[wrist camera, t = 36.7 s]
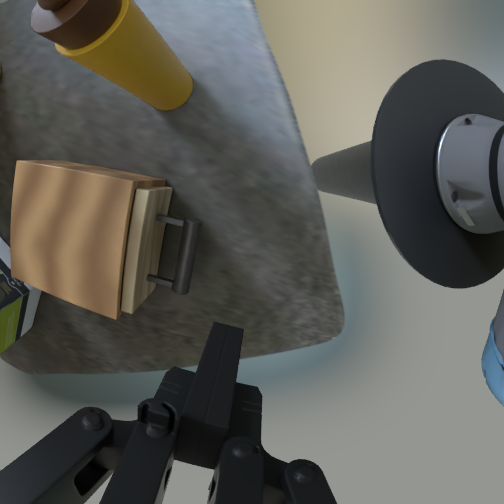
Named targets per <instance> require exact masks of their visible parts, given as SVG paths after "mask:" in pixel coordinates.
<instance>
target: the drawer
mask: <svg viewBox="0 0 504 504" xmlns="http://www.w3.org/2000/svg"><path fill="white" fill-rule="evenodd" d="M172 189H173V188H171V187H166V186H155V187H145V188H137V189H135V191H134V196H133V202H132V208H131V214H130V220H129V226H128V233H127V240H126V248H125V256H124V265H123V274H122V285H121V291H122V302H121V311H124V312H127V313H130V314H132V313H133V312H134V311H135V310H136V309H137V308H138V307H139V306H140V305H141V303H142V302H143V301H144V300H145V299H146V298H147V297H148V296H149V295H150V293H151V292H152V291H153V290H154V289H155V285H156V284H160V285H163V286H167V287H170V288H172V290H173V292H175V293H177V294H181V295H185V294H187V293H188V292H189V287H190V281H191V276H192V271H193V266H194V261H195V256H196V251H197V246H198V242H199V237H200V232H201V228H202V221H200V220H197V219H192V218H186V219H185V220H184V219H179V218H175V217H171V216H167V214H168V209H169V204H170V199H171V194H172ZM166 223H168V224H172V225H176V226H180V227H183V232H182V237H181V243H180V248H179V253H178V259H177V264H176V270H175V276H174V280H170V279H166V278H163V277H159V276H157V272H158V265H159V259H160V253H161V247H162V241H163V235H164V230H165V224H166Z"/></svg>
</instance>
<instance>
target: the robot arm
mask: <svg viewBox="0 0 504 504" xmlns="http://www.w3.org/2000/svg"><path fill="white" fill-rule="evenodd" d="M433 177H434V183H435V188H436V192H437V195H438V198H439V201H440V203H441V205H442V207H443V209H444V211H445V212H446V214H447V215H448V217H449V218H450V219H451V220H452V221H453V222H454V223H455V224H456V225H457V226H459V227H460V228H462V229H464V230H467V231H470V232H473V233H479V234H488V233H493V232H498V231H503V230H504V122H502V121H499V120H496V119H493V118H489V117H486V116H483V115H478V114H466V115H462V116H458V117H456V118H453V119H452V120H450V121H449V122H448V123H447V124H446V125H445V126H444V127H443V129H442V130H441V132H440V134H439V136H438V138H437V141H436V144H435V149H434V155H433ZM243 331H244V329H241V328H237V327H233V326H229V325H226V324H222V323H218V322H214V323H213V326H212V328H211V331H210V334H209V337H208V340H207V343H206V345H205V348H204V351H203V354H202V357H201V360H200V362H199V365H198V368H197V371H196V373H194V372H191V371H188V370H184V369H181V368H178V367H173V368H172V369H170V370H169V371H167V372H166V374H165V376H164V378H163V380H162V382H161V384H160V386H159V389H158V390H157V392H156V394H155V396H154V398H151V399H146V400H144V401H142V402H141V403H140V404H139V405H138V419H137V420H134V421H120V420H112V419H111V417H110V415H109V414H108V413H107V412H105V411H104V410H102V409H100V408H95V407H85V408H82V409H80V410H78V411H77V412H76V413H75V414H73V416H71V417H70V418H68V419H67V420H66V421H64V423H62V424H61V425H59V426H58V427H57V428H56V429H54V430H53V431H52V432H51V433H49V434H48V435H47V436H45V437H44V438H43V439H41V440H40V441H39V442H38V443H36V444H35V445H34V446H32V447H31V448H30V449H29V450H27V451H26V452H25V453H24V454H22V455H21V456H19V457H18V458H17V459H16V460H14V461H13V462H12V463H10V464H9V465H8V466H6V467H5V468H4V469H2V470H1V471H0V504H84V503H85V502H86V501H87V500H88V499H89V498H90V496H92V495H93V494H94V493H95V492H96V490H97V489H98V488H99V487H100V486H101V485H102V484H103V483H104V482H105V481H106V480H107V479H108V478H109V476H110V475H111V474H112V473H113V472H114V473H113V475H112V477H111V479H110V481H109V483H108V486H107V488H106V490H105V492H104V494H103V497H102V499H101V501H100V503H99V504H162V501H163V498H164V494H165V491H166V488H167V485H168V481H169V478H170V474H171V471H172V464H173V461H174V460H178V461H181V462H185V463H189V464H192V465H197V466H201V467H205V468H209V469H215V470H214V475H213V478H212V481H211V483H210V486H209V490H210V491H209V496H208V502H207V504H337V503H336V500H335V498H334V496H333V494H332V492H331V489H330V487H329V485H328V483H327V480H326V478H325V476H324V474H323V471H322V470H321V469H320V467H319V466H318V465H316V464H315V463H314V462H311V461H309V460H305V459H298V460H294V461H291V462H290V463H287V462H284V461H281V460H279V459H276V458H274V457H272V456H271V455H269V454H268V453H267V452H266V451H265V450H264V448H263V446H262V444H261V420H262V414H261V413H262V394H261V393H260V391H259V389H258V387H255V386H251V385H246V384H241V383H237V382H236V378H237V371H238V364H239V358H240V351H241V344H242V338H243ZM482 371H483V374H484V377H485V378H486V383H487V385H488V387H489V389H490V391H491V392H492V394H493V395H494V396H495V398H496V399H497V400H498V401H499V402H500V403H501V404H502V405H503V406H504V291H503V294H502V297H501V301H500V304H499V307H498V310H497V313H496V316H495V318H494V319H493V320H492V322H491V325H490V333H489V336H488V339H487V342H486V345H485V348H484V351H483V354H482Z"/></svg>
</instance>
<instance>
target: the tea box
mask: <svg viewBox="0 0 504 504" xmlns="http://www.w3.org/2000/svg"><path fill="white" fill-rule="evenodd" d="M41 292H42V290H40V289H38V288H35V287H33V286H31V285H29V284H27V283H25V282H23V281H20V280H18V279H16V278H14V277H12V276H11V254H10V247H9V246H8V245H7V244H6V243H5V242H4V241H3V240H2V238H1V237H0V354H1V353H2V352H3V351H4V350H5V349H7V348H8V347H9V346H10V345H12V344H13V343H14V342H15V341H17V340H18V339H19V338H20V337H21V336H22V335H24V334H25V333H26V332H27V331H28V330H29V329H30V328H31V327H32V325H33V321H34V317H35V313H36V309H37V306H38V302H39V298H40V295H41Z"/></svg>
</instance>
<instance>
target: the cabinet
mask: <svg viewBox="0 0 504 504" xmlns="http://www.w3.org/2000/svg"><path fill="white" fill-rule="evenodd" d="M165 182H166V180H165V179H160V178H155V177H150V176H145V175H140V174H135V173H130V172H125V171H120V170H114V169H109V168H103V167H98V166H92V165H86V164H80V163H74V162H68V161H53V160H18V161H17V163H16V170H15V178H14V187H13V197H12V210H11V235H10V254H11V276H12V277H14V278H16V279H18V280H20V281H23V282H25V283H27V284H29V285H31V286H33V287H35V288H38V289H40V290H42V291H44V292H47V293H49V294H51V295H54V296H56V297H58V298H61V299H63V300H65V301H68V302H70V303H73V304H75V305H78V306H80V307H83V308H86V309H88V310H91V311H93V312H96V313H99V314H101V315H104V316H107V317H110V318H112V319H115V320H117V319H118V318H119V316H120V315H121V314H122V313H123V312H124V311H121V302H122V291H121V285H122V274H123V265H124V256H125V248H126V240H127V233H128V226H129V220H130V214H131V208H132V202H133V196H134V191H135V189H137V188H145V187H155V186H165Z"/></svg>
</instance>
